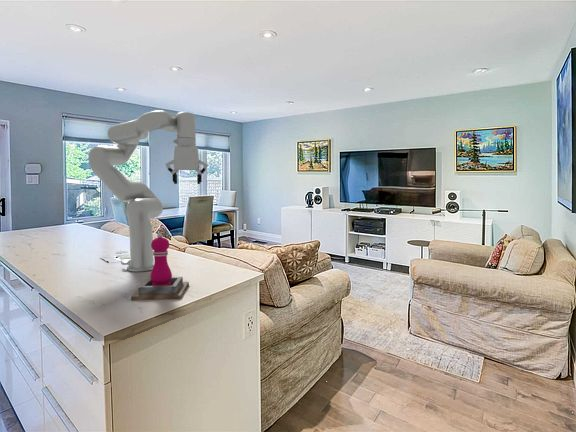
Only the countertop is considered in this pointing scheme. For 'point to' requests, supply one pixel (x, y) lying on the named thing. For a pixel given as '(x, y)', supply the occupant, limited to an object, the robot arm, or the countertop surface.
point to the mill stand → (161, 290)
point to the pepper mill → (160, 262)
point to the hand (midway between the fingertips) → (187, 183)
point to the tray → (123, 255)
